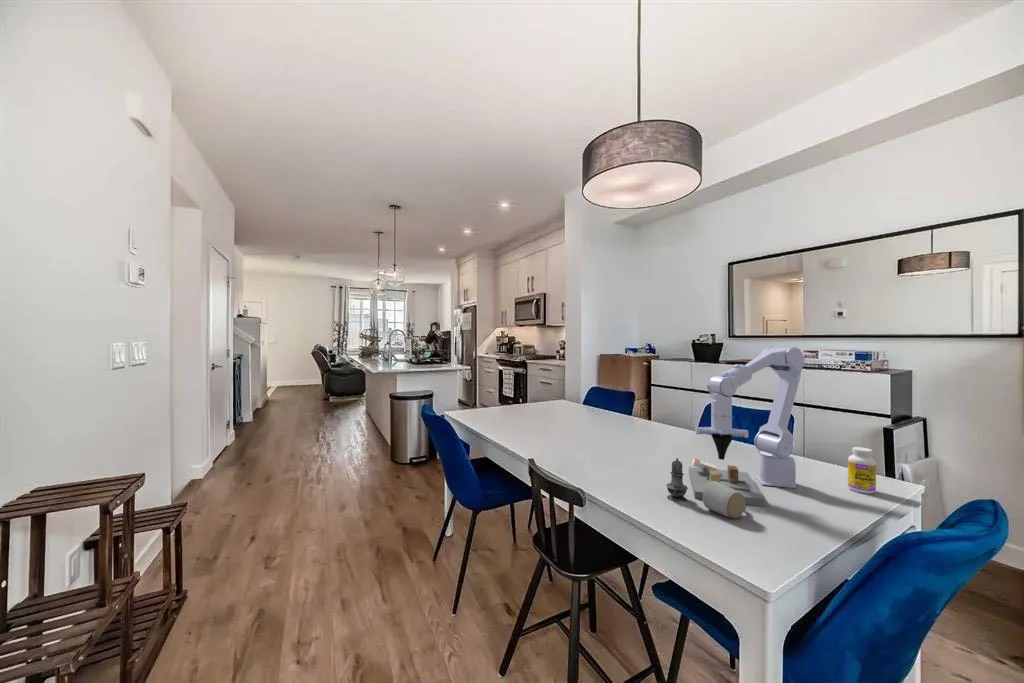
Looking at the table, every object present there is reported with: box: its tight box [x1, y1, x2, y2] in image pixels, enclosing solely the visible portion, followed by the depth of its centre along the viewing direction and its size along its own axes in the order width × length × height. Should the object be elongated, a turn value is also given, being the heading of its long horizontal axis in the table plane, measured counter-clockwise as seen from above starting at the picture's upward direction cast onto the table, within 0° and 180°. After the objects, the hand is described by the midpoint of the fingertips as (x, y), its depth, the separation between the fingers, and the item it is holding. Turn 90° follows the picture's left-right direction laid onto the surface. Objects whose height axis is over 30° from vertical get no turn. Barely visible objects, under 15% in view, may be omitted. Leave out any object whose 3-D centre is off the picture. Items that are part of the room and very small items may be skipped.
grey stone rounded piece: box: [666, 457, 689, 503], centre depth 122 cm, size 6×6×12 cm
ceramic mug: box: [702, 481, 747, 519], centre depth 113 cm, size 11×8×8 cm
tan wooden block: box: [710, 470, 720, 483], centre depth 126 cm, size 2×4×4 cm, turn 161°
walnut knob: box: [727, 465, 739, 483], centre depth 131 cm, size 2×4×4 cm, turn 161°
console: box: [688, 460, 766, 507], centre depth 131 cm, size 18×24×5 cm
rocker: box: [691, 457, 718, 471], centre depth 140 cm, size 7×5×2 cm
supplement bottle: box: [847, 446, 877, 495], centre depth 128 cm, size 7×7×13 cm
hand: (721, 458), depth 130 cm, fingers closed
